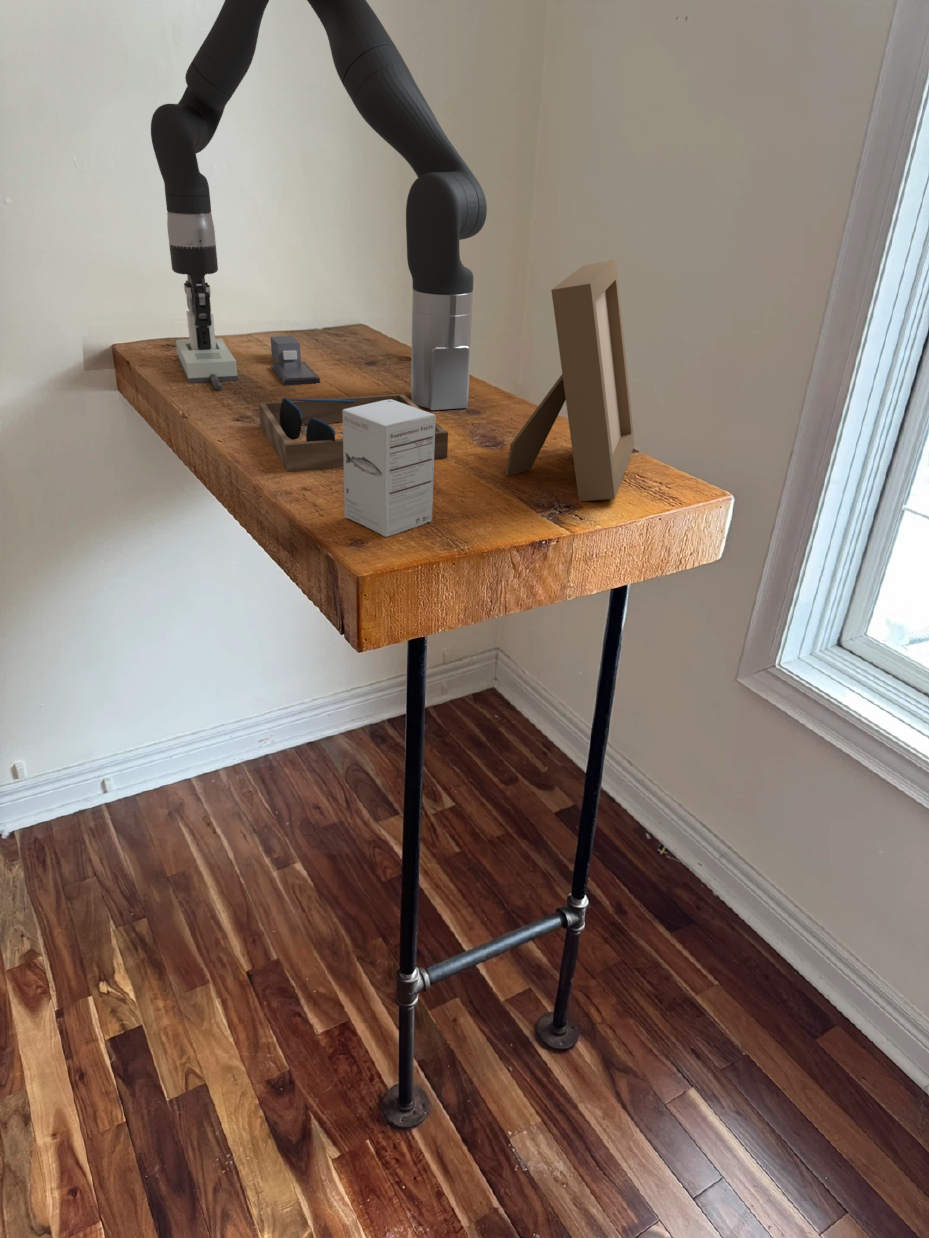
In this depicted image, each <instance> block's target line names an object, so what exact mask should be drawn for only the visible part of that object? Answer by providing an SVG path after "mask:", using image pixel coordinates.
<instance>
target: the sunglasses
mask: <svg viewBox="0 0 929 1238" xmlns="http://www.w3.org/2000/svg"><path fill="white" fill-rule="evenodd" d="M281 401H282V403H281V407H280V424H281V428H282V430H283V431H284V433H285V434H286V436H287V437H288V439H289V440H292V441H294V440H298V439H299V438H300V436H301V435H305V434H306V435H305V442H309V441H322V440H332V441H335V439H336V435H337V432H336V430H335V428H333V426H331V425H330V424H329V423H328V424H327V423H325V422H323V421H321V420H318V419H316V418H311V419H310V420H309V421H310V422H309V421H308V423H307V422H305V423H304V425H302V420H301V419H302V414H301V411H300V409H299V408H298V407H297V406H296V405H294V404H293V403H292V402H291V401H316V402H356V401H354V400H341V399H326V398H287V397H283V398H282V399H281ZM312 419H313V420H312ZM306 423H307V424H308V425H305V424H306ZM302 426H303V427H302ZM339 434H342V435H343V431H341V432H339Z"/></svg>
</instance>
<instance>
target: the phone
mask: <svg viewBox="0 0 929 1238" xmlns="http://www.w3.org/2000/svg"><path fill="white" fill-rule="evenodd" d="M271 368H272V369H271ZM270 369H271V370H272V371H273V372H274V374H275V375H276V376H277V378H278V379H279V380H280V381H281V383H282V384H283V385H284V386H297V385H300V386H303V385H317V384H316V383H320V384H321V379H320V377H319V375H318V374H317V373H316V372H315V371H314V370H313V369H312V368H311V367H310V366H309V365H308V363H306V362H305V361H301V362H284V363H276V362H271V363H270ZM302 384H303V385H302Z"/></svg>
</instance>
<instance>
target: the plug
mask: <svg viewBox="0 0 929 1238" xmlns="http://www.w3.org/2000/svg"><path fill="white" fill-rule="evenodd" d="M270 348H271V349H270V351H271V359H272V360H273V361H274V363H284V362H302V359H301V342H300V341H299V340H297V338H295V337H294V336H293V335H280V336H279V335H278V336H270Z"/></svg>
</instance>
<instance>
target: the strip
mask: <svg viewBox="0 0 929 1238" xmlns="http://www.w3.org/2000/svg"><path fill="white" fill-rule="evenodd" d="M215 341H216V349H212V350H192V349H191V347H190V339H189V338H188V339H175V342H176V343H175V344H176V345H175V346H176V353H177V358H178V361H179V364H180V365H181V368H182V370H183V372H184V375H185V378H186V380H187V382H188V384H197V383H211V384H212V386H213V387H214V388H213V389H214V390H216V391H221V390H222V388H223V385H222V384H221V382H235V381H239V378H238V376H239V375H238V366H237V360H236V359H235V357H234V355H233V354H232V352H231V351H230V349H229V348H228V346H227V344H226V343H225V342H224V340H223V339H222V337H221V338H216V337H215Z"/></svg>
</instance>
